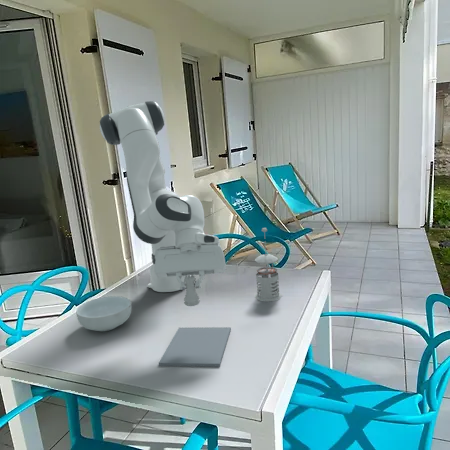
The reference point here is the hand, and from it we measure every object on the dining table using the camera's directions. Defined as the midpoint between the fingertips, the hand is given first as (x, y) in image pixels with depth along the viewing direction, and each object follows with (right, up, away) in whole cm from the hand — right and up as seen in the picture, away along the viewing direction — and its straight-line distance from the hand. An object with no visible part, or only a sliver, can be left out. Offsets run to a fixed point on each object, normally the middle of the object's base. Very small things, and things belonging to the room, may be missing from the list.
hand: (190, 288), depth 112 cm
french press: (+25, -8, +34) cm, 43 cm away
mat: (+2, -16, +1) cm, 17 cm away
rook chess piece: (0, -5, +1) cm, 5 cm away
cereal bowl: (-29, -15, +19) cm, 38 cm away
